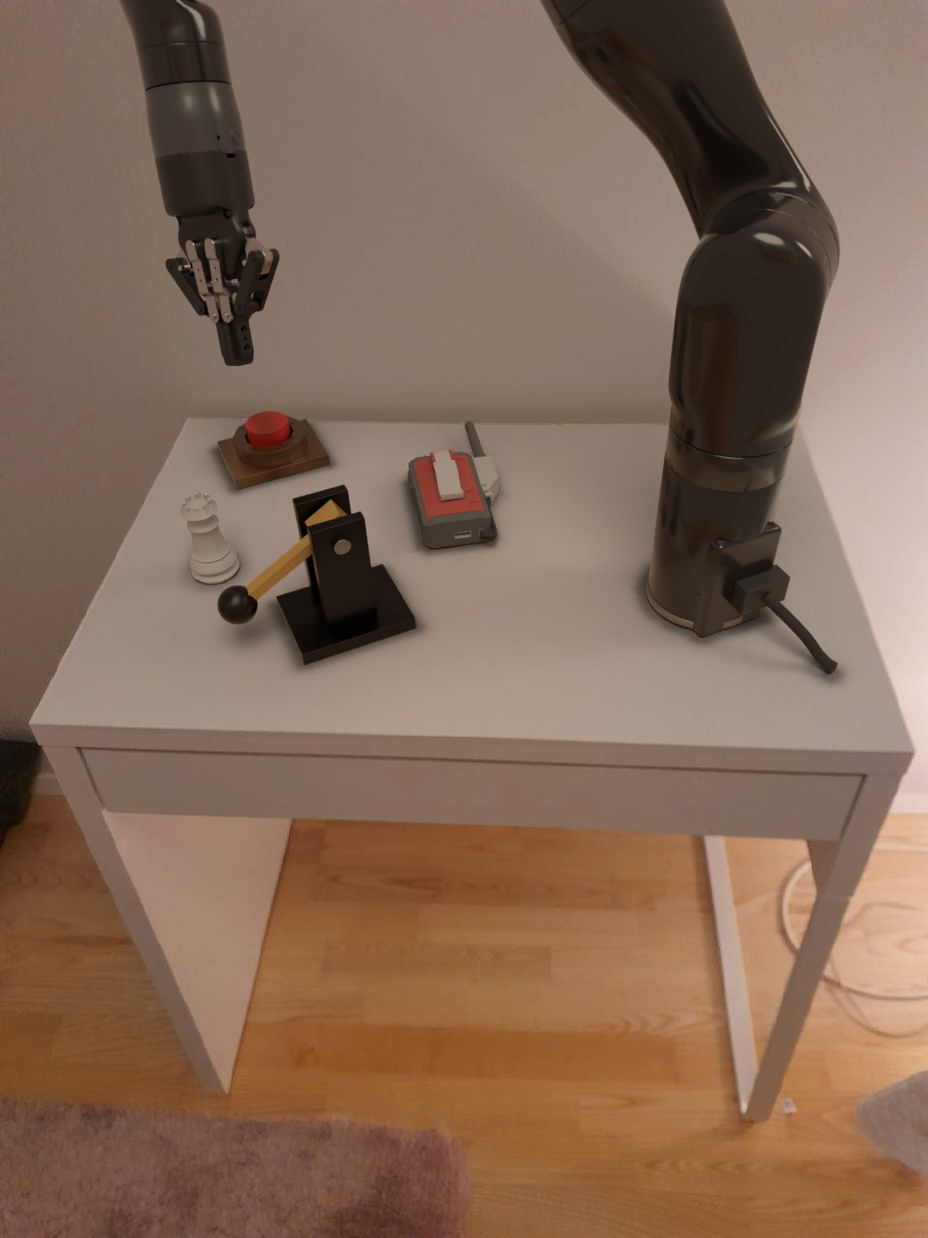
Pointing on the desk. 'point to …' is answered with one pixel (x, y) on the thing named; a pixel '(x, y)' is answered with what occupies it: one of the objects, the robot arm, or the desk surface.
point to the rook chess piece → (208, 541)
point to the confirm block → (272, 455)
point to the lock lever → (270, 574)
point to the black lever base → (340, 585)
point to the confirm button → (267, 429)
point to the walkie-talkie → (455, 495)
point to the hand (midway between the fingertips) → (240, 364)
